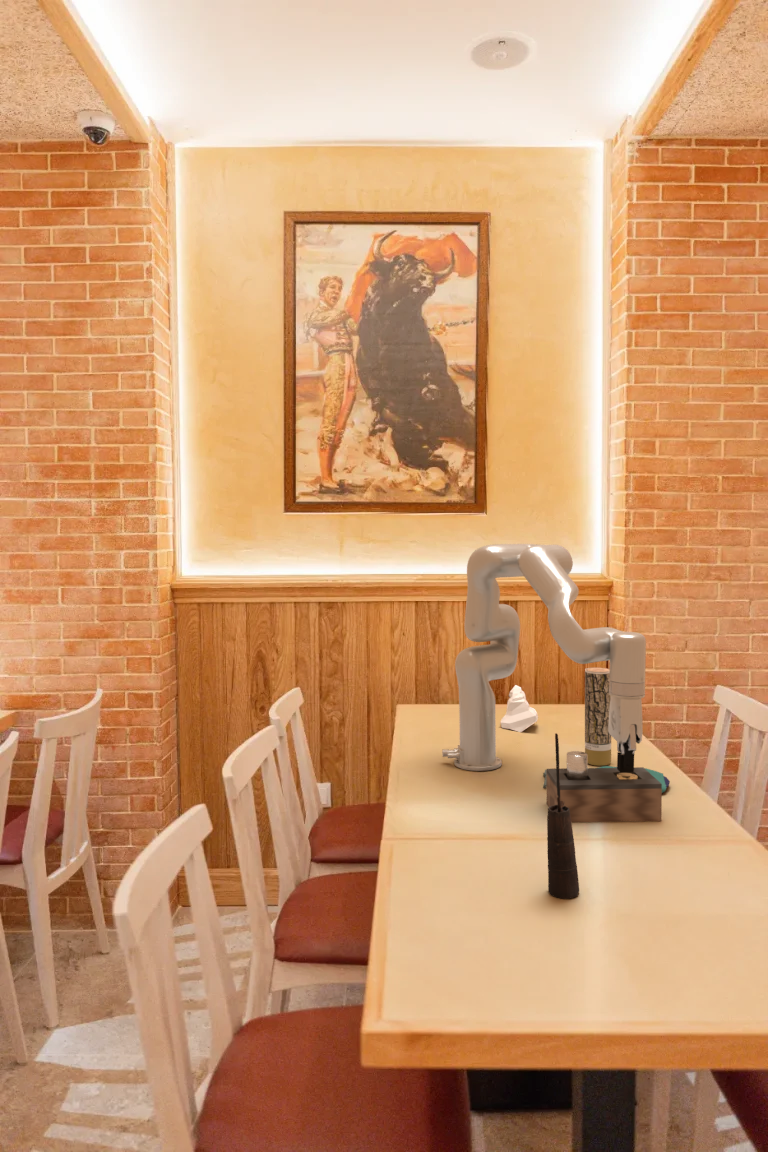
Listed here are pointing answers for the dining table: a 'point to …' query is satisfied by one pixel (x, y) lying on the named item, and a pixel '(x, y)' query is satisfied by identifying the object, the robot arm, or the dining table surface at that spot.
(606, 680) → the paper tube
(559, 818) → the butter churn
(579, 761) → the steel peg
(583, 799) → the peg block
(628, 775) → the brass peg
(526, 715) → the soft serve ice cream
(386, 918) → the dining table surface
